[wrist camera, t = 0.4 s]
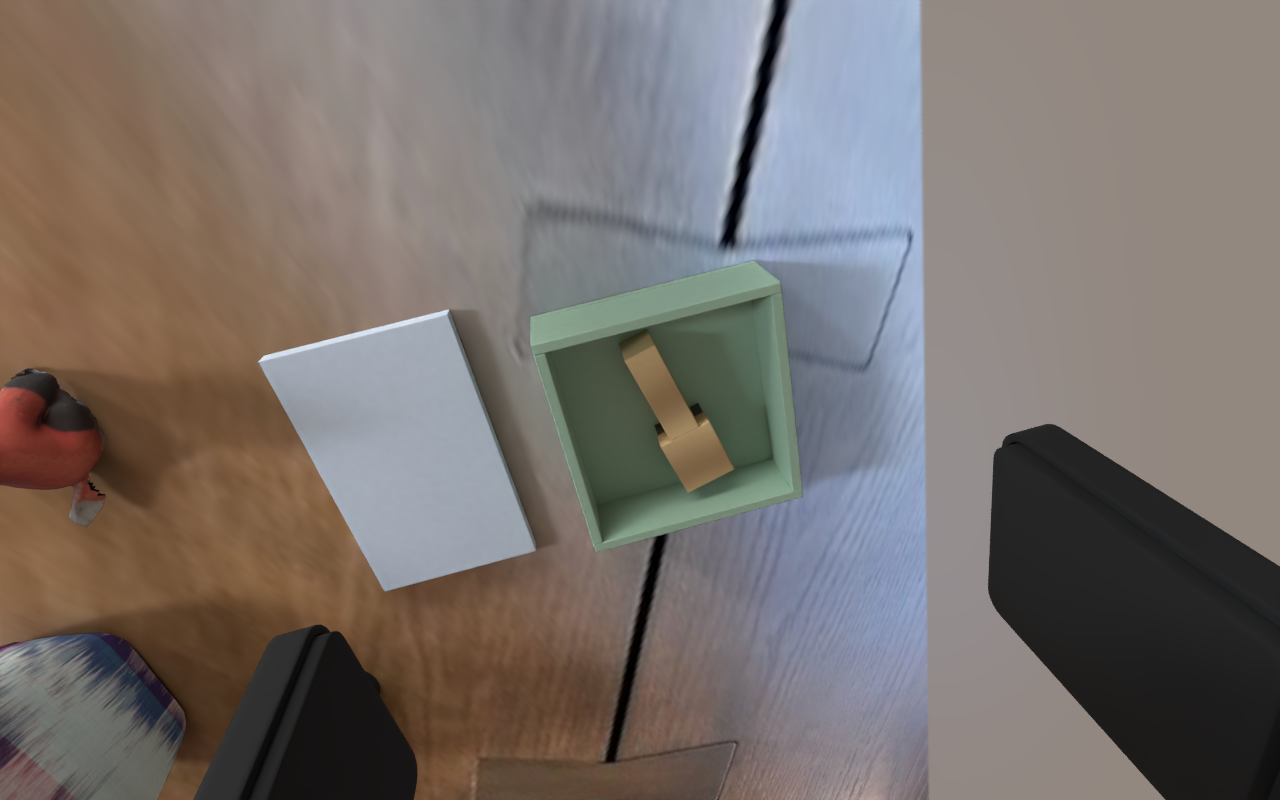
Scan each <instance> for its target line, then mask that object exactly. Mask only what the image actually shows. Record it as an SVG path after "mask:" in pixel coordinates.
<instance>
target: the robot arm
mask: <svg viewBox="0 0 1280 800" xmlns="http://www.w3.org/2000/svg"><path fill="white" fill-rule="evenodd" d="M993 463H994V464H993V485H992V509H991V532H990V557H989V579H988V591H989V595H990V598H991V601H992V603H993V605H994V607H995V609H996V610H997V612H998V613H999V614H1000V615H1001V617H1002V618H1003V619H1004V620H1005V621H1006V622H1007V623H1008V624H1009V625H1010V627H1011V628H1012V629H1013V630H1014V631H1015V632H1016V633H1017V634H1018V636H1019V637H1020V638H1021V639H1022V640H1023V641H1024V642H1025V643H1026V644H1027V645H1028V647H1029V648H1030V649H1031V650H1032V651H1033V652H1034V653H1035V655H1036V656H1037V657H1038V658H1039V659H1040V660H1041V661H1042V662H1043V663H1044V665H1045V666H1046V667H1047V668H1048V669H1049V670H1050V671H1051V672H1052V674H1054V676H1055V677H1056V678H1057V679H1058V680H1059V681H1060V682H1061V683H1062V684H1063V686H1064V687H1065V688H1066V689H1067V690H1068V691H1069V692H1070V694H1072V696H1073V697H1074V698H1075V699H1076V700H1077V701H1078V703H1079V704H1080V705H1081V706H1082V707H1083V708H1084V709H1085V710H1086V711H1087V713H1088V714H1089V715H1090V716H1091V717H1092V718H1093V719H1094V720H1095V722H1096V723H1097V724H1098V725H1099V726H1100V727H1101V728H1102V729H1103V730H1104V732H1105V733H1106V734H1107V735H1108V736H1109V737H1110V738H1111V739H1112V741H1113V742H1114V743H1115V744H1116V745H1117V746H1118V747H1119V748H1120V749H1121V751H1122V752H1123V753H1124V754H1125V755H1126V756H1127V757H1128V758H1129V760H1130V761H1131V762H1132V763H1133V764H1134V765H1135V766H1136V767H1137V768H1138V770H1139V771H1140V772H1141V773H1142V774H1143V775H1144V776H1145V777H1146V779H1147V780H1148V781H1149V782H1150V783H1151V784H1152V785H1153V786H1154V787H1155V789H1156V790H1157V791H1158V792H1159V793H1160V794H1161V795H1162V796H1163V797H1164V799H1165V800H1280V566H1278V565H1276V564H1275V563H1273V562H1272V561H1270V560H1268V559H1267V558H1265V557H1264V556H1262V555H1261V554H1259V553H1257V552H1256V551H1254V550H1253V549H1251V548H1250V547H1248V546H1246V545H1245V544H1243V543H1241V542H1240V541H1239V540H1237V539H1235V538H1233V537H1232V536H1231V535H1229V534H1228V533H1226V532H1224V531H1223V530H1221V529H1220V528H1218V527H1216V526H1215V525H1213V524H1212V523H1210V522H1209V521H1207V520H1205V519H1204V518H1202V517H1201V516H1199V515H1197V514H1196V513H1194V512H1193V511H1191V510H1190V509H1188V508H1186V507H1185V506H1183V505H1182V504H1180V503H1179V502H1177V501H1175V500H1174V499H1172V498H1170V497H1169V496H1167V495H1166V494H1164V493H1163V492H1161V491H1160V490H1158V489H1156V488H1155V487H1153V486H1152V485H1150V484H1149V483H1147V482H1145V481H1144V480H1142V479H1141V478H1139V477H1138V476H1136V475H1134V474H1133V473H1131V472H1130V471H1128V470H1126V469H1125V468H1123V467H1122V466H1120V465H1119V464H1117V463H1115V462H1114V461H1112V460H1111V459H1109V458H1108V457H1106V456H1104V455H1103V454H1101V453H1100V452H1098V451H1096V450H1095V449H1093V448H1092V447H1090V446H1088V445H1087V444H1085V443H1084V442H1082V441H1081V440H1079V439H1078V438H1076V437H1074V436H1072V435H1071V434H1070V433H1068V432H1066V431H1065V430H1063V429H1061V428H1060V427H1058V426H1056V425H1053V424H1046V425H1042V426H1038V427H1034V428H1031V429H1027V430H1024V431H1020V432H1016V433H1012V434H1010V435H1008V436H1006V437H1005V439H1004V441H1003V444H1002V447H1001V448H999V449H997V450H996V452H995V454H994V462H993ZM416 783H417V763H416V759H415V755H414V753H413V750H412V749H411V747H410V745H409V744H408V742H407V740H406V739H405V737H404V735H403V734H402V732H401V731H400V729H399V727H398V726H397V724H396V722H395V721H394V719H393V717H392V716H391V714H390V712H389V711H388V709H387V707H386V706H385V704H384V702H383V701H382V699H381V697H380V696H379V694H378V692H377V691H376V689H375V687H374V686H373V684H372V682H371V681H370V679H369V677H368V676H367V674H366V672H365V671H364V669H363V668H362V666H361V664H360V663H359V661H358V659H357V658H356V656H355V654H354V653H353V651H352V649H351V648H350V646H349V644H348V643H347V641H346V639H345V638H344V636H343V635H342V634H341V633H340V632H338V631H334V632H330V631H329V630H328V629H327V628H326V627H325V626H323V625H314V626H311V627H307V628H304V629H300V630H296V631H293V632H289V633H285V634H282V635H278V636H276V637H275V638H273V639H272V640H271V641H270V643H269V644H268V646H267V648H266V650H265V652H264V654H263V656H262V658H261V660H260V662H259V665H258V667H257V669H256V671H255V673H254V675H253V677H252V679H251V681H250V683H249V685H248V687H247V689H246V692H245V694H244V696H243V698H242V700H241V702H240V704H239V706H238V708H237V710H236V712H235V714H234V716H233V719H232V721H231V723H230V725H229V727H228V729H227V731H226V733H225V735H224V737H223V739H222V741H221V743H220V745H219V748H218V750H217V752H216V754H215V756H214V758H213V760H212V762H211V764H210V766H209V768H208V770H207V772H206V775H205V777H204V779H203V781H202V783H201V785H200V787H199V789H198V791H197V793H196V795H195V797H194V799H193V800H414V795H415V789H416Z"/></svg>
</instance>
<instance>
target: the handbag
mask: <svg viewBox="0 0 1280 800" xmlns="http://www.w3.org/2000/svg"><path fill="white" fill-rule="evenodd" d="M185 727H186V720H185V714H184V711H183V710H182V708H181V707H180V706H179V704H178V703H177V701H176V700H175V699H174V698H173V696H172V695H171V694H170V693H169V692H168V691H167V689H166V688H165V687H164V686H163V685H162V683H161V682H160V681H159V680H158V679H157V677H156V676H155V675H154V674H153V672H152V671H151V670H150V669H149V667H148V666H147V665H146V664H145V662H144V661H143V660H142V659H141V657H140V656H139V655H138V653H137V652H136V651H135V650H134V649H133V648H132V647H131V646H130V645H129V644H128V643H127V642H126V641H125V640H123V639H121V638H119V637H116V636H114V635H112V634H105V633H90V634H75V635H61V636H53V637H47V638H41V639H36V640H31V641H26V642H14V643H11V644H7V645H4V646H0V800H157V799H158V796H159V794H160V792H161V790H162V788H163V785H164V783H165V781H166V779H167V776H168V774H169V772H170V770H171V768H172V765H173V763H174V761H175V758H176V756H177V753H178V751H179V749H180V746H181V744H182V741H183V739H184V733H185Z"/></svg>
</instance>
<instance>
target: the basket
mask: <svg viewBox="0 0 1280 800" xmlns="http://www.w3.org/2000/svg"><path fill="white" fill-rule="evenodd" d="M781 292H782V289H781V282H780V281H779V280H777V279H776V278H775V277H774V276H773V275H771V274H770V273H769V272H768V271H767V270H765V269H764V268H763V267H762V266H761V265H759V264H758V263H757V262H756V261H750V262H746V263H742V264H738V265H734V266H730V267H726V268H722V269H718V270H714V271H710V272H706V273H702V274H698V275H694V276H690V277H686V278H682V279H678V280H674V281H670V282H666V283H662V284H658V285H654V286H650V287H647V288H643V289H639V290H635V291H631V292H627V293H623V294H619V295H615V296H611V297H607V298H603V299H599V300H595V301H591V302H587V303H583V304H579V305H575V306H571V307H567V308H563V309H559V310H555V311H551V312H547V313H543V314H539V315H536V316H532V317H530V333H531V349H532V352H533V355H534V359H535V362H536V365H537V368H538V371H539V374H540V378H541V381H542V384H543V387H544V390H545V393H546V397H547V400H548V403H549V406H550V409H551V412H552V416H553V419H554V422H555V425H556V428H557V431H558V434H559V438H560V441H561V444H562V447H563V450H564V453H565V457H566V460H567V463H568V466H569V469H570V472H571V476H572V479H573V482H574V485H575V488H576V491H577V495H578V498H579V501H580V504H581V507H582V510H583V514H584V517H585V520H586V523H587V526H588V529H589V533H590V536H591V539H592V542H593V545H594V549H595V552H600V551H603V550H607V549H611V548H615V547H618V546H622V545H626V544H629V543H633V542H637V541H641V540H644V539H648V538H652V537H655V536H659V535H663V534H667V533H670V532H674V531H678V530H681V529H685V528H689V527H693V526H696V525H700V524H704V523H707V522H711V521H715V520H719V519H722V518H726V517H730V516H733V515H737V514H741V513H745V512H748V511H752V510H756V509H760V508H763V507H767V506H771V505H774V504H778V503H782V502H786V501H789V500H793V499H797V498H800V497H803V492H802V482H801V472H800V462H799V453H798V443H797V433H796V423H795V414H794V404H793V394H792V385H791V375H790V365H789V356H788V346H787V336H786V326H785V317H784V307H783V297H782V293H781ZM646 329H648V331H649V333H650V335H651V337H652V338H653V340H654V342H655V344H656V346H657V348H658V349H659V351H660V353H661V355H662V357H663V359H664V361H665V362H666V364H667V366H668V368H669V370H670V372H671V374H672V375H673V377H674V379H675V381H676V383H677V385H678V386H679V388H680V390H681V392H682V394H683V396H684V398H685V399H686V401H687V403H688V405H689V407H691V406H693V405H695V404H697V403H699V405H700V407H701V409H702V411H703V412H705V414H706V415H707V417H708V419H709V421H710V423H711V425H712V427H713V429H714V431H715V432H716V434H717V436H718V438H719V440H720V442H721V444H722V446H723V448H724V449H725V451H726V453H727V455H728V457H729V459H730V461H731V463H732V465H733V467H734V470H732V471H730V472H728V473H726V474H724V475H722V476H720V477H718V478H717V479H715V480H713V481H711V482H709V483H707V484H705V485H703V486H701V487H699V488H697V489H695V490H693V491H691V492H689V493H688V492H687V491H686V489H685V487H684V486H683V484H682V482H681V481H680V479H679V477H678V476H677V474H676V472H675V471H674V469H673V467H672V465H671V464H670V462H669V460H668V459H667V457H666V455H665V454H664V452H663V450H662V449H661V447H660V444H659V441H658V438H657V436H658V434H657V431H656V429H655V425H656V424H658V423H660V422H659V420H658V419H657V417H656V415H655V413H654V412H653V410H652V408H651V406H650V405H649V403H648V401H647V400H646V398H645V396H644V394H643V393H642V391H641V389H640V387H639V386H638V384H637V382H636V380H635V379H634V377H633V375H632V374H631V372H630V370H629V368H628V367H627V365H626V363H625V361H624V358H623V355H622V352H621V349H620V346H619V344H620V343H622V342H623V341H625V340H627V339H629V338H631V337H633V336H635V335H636V334H638V333H640V332H642V331H644V330H646Z"/></svg>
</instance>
